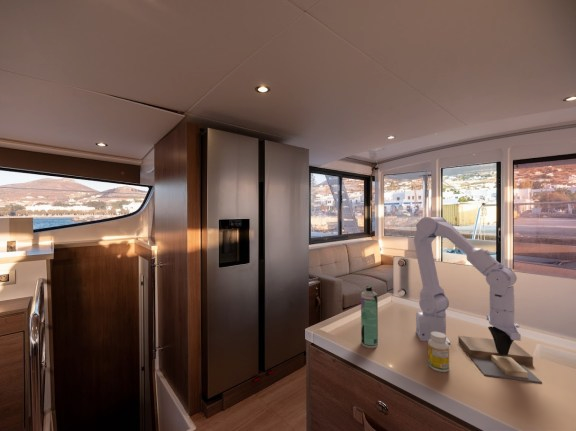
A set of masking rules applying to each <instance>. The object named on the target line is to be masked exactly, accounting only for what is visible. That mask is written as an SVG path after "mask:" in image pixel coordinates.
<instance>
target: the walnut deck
mask: <svg viewBox="0 0 576 431" xmlns="http://www.w3.org/2000/svg"><path fill="white" fill-rule="evenodd" d="M457 338H458V340H457V342H458V344H459V345H460V347H461V348H462V349H463V351H464V352H465V353H466V354H467V356H468V357H469V358H470V359H471V357H475V358H483V359H491V355H498V356H507V357H511V358H512V359H513V360H515V361H516V362H517V363H521V364H523V365H524V366H525V365H526V366H534V356H532V355H531V354H530V353H529V352H527V351H526V350H525V349H523V348H522V347H521V346H520V345H518V344H517V343H516V342H515V341H513V342H512V344H511V346H510V349H509V352H508V355H501V354H499V353H498V352H497V350H496V346H495V342H494V339H493V338H486V337H484V338H483V337H476V336H475V337H474V336H465V335H458V336H457Z"/></svg>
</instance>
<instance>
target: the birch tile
mask: <svg viewBox="0 0 576 431" xmlns="http://www.w3.org/2000/svg"><path fill="white" fill-rule="evenodd" d="M491 360H492V361H493V362H494V363H495V364H496V365H497V366H498V367H499V368H500V370H501V371H502V372H503V373H504V374H505V375H508V376H516V377H523V378H528V372H527V371H525V370H524V369H523V368H522V367H521V366H520V365H519V364H518V363H517V362H516V361H515V360H513V359H512V358H511V357H507V356H498V355H491Z"/></svg>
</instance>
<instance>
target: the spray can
mask: <svg viewBox="0 0 576 431" xmlns="http://www.w3.org/2000/svg"><path fill="white" fill-rule="evenodd" d="M365 288H366V289H364V291H362V292H361V294H360V314H361V315H360V320H361V321H360V325H361V327H360V331H361V338H360V340H361V342H360V343H361V345H362V346H363V348H364V347H365V348H367V349H376V348H378V346H379V327H378V326H379V324H378V322H379V320H378V316H379V313H378V311H379V310H378V309H379V308H378V293H377V292H375V291H374V290H373V289H372V288H373V287H372V286H371V285H367V286H366V287H365Z"/></svg>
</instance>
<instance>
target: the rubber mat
mask: <svg viewBox="0 0 576 431" xmlns="http://www.w3.org/2000/svg"><path fill="white" fill-rule="evenodd" d="M470 359H471V360H472V362H473V363H474V365H476V367H477V368H478V369H479V371H480V372H481V374H482V375H483V376H484V377H490V378H491V377H493V378H499V379H508V380H514V381H520V382H521V381H523V382H529V383H535V384H536V383H537V384H543V382H542V380H540V379H539V378H538V377H537V376H536V375H535V374H534V373H533V372H532V371H531V370H530V369H529V368H527V367H526V366H525V365H524V364H521V363H518V364H519V365H520V366H521V367H522V368H523V369H524V370H525V371H527V372H528V378H523V377H516V376H508V375H505V374H504V373H503V372H502V371H501V370H500V368H499V367H498V366H497V365H496V364H495V363H494V362H493V361H492V360H491V359H483V358H475V357H471V358H470Z"/></svg>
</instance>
